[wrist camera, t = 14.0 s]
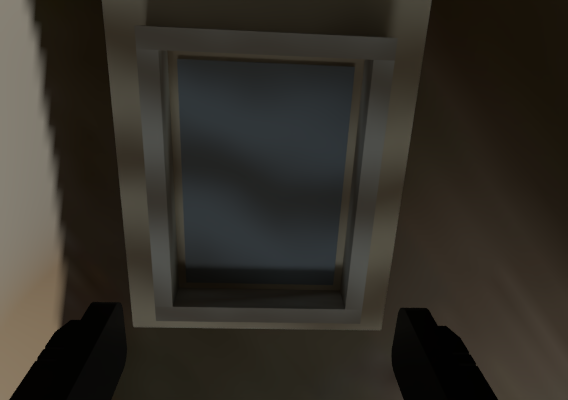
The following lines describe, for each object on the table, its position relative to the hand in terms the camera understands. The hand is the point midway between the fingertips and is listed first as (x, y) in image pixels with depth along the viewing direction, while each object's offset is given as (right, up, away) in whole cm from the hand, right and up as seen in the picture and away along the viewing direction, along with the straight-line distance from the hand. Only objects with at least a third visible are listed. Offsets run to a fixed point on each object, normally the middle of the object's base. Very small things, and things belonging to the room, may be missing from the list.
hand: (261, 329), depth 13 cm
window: (-1, +5, +13) cm, 14 cm away
